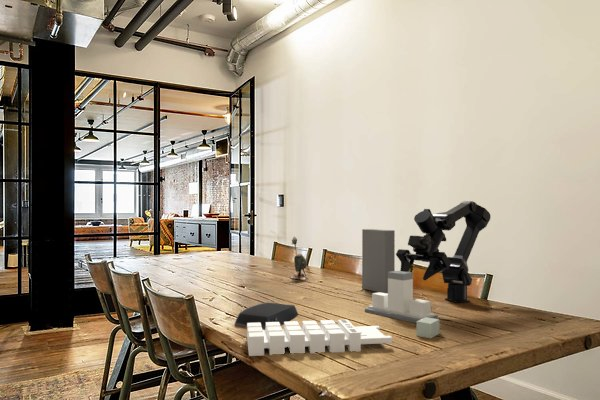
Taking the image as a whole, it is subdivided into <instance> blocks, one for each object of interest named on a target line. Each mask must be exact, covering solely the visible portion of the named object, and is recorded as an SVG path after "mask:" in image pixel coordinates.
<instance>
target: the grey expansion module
mask: <svg viewBox="0 0 600 400" xmlns="http://www.w3.org/2000/svg"><path fill="white" fill-rule="evenodd" d="M413 281H414V272H413V271H412V272H410V271H408V272H404V271H400V270H395V271H392V272H388V293H387V294H388V310H393V311H398V312H403V313H404V312H408V311H410V300H414V297H413V296H414V287H413V286H414V285H413V284H414V282H413Z"/></svg>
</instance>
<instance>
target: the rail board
mask: <svg viewBox="0 0 600 400" xmlns="http://www.w3.org/2000/svg"><path fill="white" fill-rule="evenodd" d="M364 312H365V313H370V314H373V315H374V314H375V315H378V316H383V317H388V318H392V319H397V320H400V321H405V322H410V323H415V324H417V321H418V320H421V319H423V318H425V317H427V318H434V319H439V318H438V317H439V315H438V314H436V313H432V301H431V300H426V299H419V298H415V299H414V298H413V300H410V311H408V312H404V313H403V312H398V311H393V310H388V293H381V292H373V293H371V305H367V307H366V308H364Z"/></svg>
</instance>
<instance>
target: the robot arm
mask: <svg viewBox="0 0 600 400" xmlns="http://www.w3.org/2000/svg"><path fill="white" fill-rule="evenodd" d="M462 218H464V221H465V224H466V227H465V229H464V232H463V233H462V236H461V238H460V241H459V243H458V246H457V248H456V250H455V252H454V255H453V256H448V255H447V254H446V251H440V250H439V247H440V245H441V243H442V242H447V237H446V234H445V233H444V231H451V230H452V229H453V228H454V227H456V222H457V221H460V220H461V219H462ZM413 219H414V222H415V223H416V225H417V227H418V228H419V230H420V232H422V233H421V234H424V235H422V236H421V235H409V237H408V242H407V246H410V247H412V251H413V252H415V253H412V252H411V251H410V250H409V249H401V248H400V249H399V248H398V250H397V251H396V253H395V255H396V256H395V257H397V259H398V260H399V261H400V270H399V271H404V272H410V270H411V269H412V267H413V266H412V265H413V264H414V263H415V261H418V262H419V261H420V262H424V263H428V266H427V268H426V270H425V272H424V274H423V277H422V279H423V281H427V280H428V279H429V278H432V277H433V276H435V275H436V274H438V273H440V272H441V274H442V279H443V280H442V281H443V283H444V284H447V289H446V290H447V291H446V292H447V294H446V295H447V296H446V297H445V298H444V300H446V301H449V302H453V303H458V304H459V303H466V302H471V299H468V286H469V287H470V286H472V281H473V278H472V277H471V275H470V273H469V266H468V260H469V258H470V256H471V252H472V251H473V248H474V245H475V243H476V240H477V238H478V236H479V233H480V232H481V231H482V230H484V229H486V227H487V226H488V224H489V222H490V221H491V213H490V212H489V211H488V210H487V208H485V207H483V206H481V205H479V204H477V202H475V201H474V200H472V201H470V200H469V201H468V200H467V201H466V200H463V201H461V202H460V203H459V204H458V205H456V206H453V207H452V208H451V209H449V210H447V211H444V212H442V211H441V212H437V213H432V211H431V209H430V208H424V209H423V210H422V211H419V212H418V213H417V214H415V216H414V218H413Z"/></svg>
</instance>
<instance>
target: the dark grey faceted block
mask: <svg viewBox="0 0 600 400" xmlns="http://www.w3.org/2000/svg"><path fill="white" fill-rule="evenodd" d="M298 316H299V313H298V311H297V307H296V306H295V305H294V304H285V303H274V302H263V303H258V304H255V305H252V306H250V307H247V308H245V309H243V310H242V311H241V312H239V313H238V315H237V317H236V319H235V321H234V326H238V327H246V328H247V323H258V322H261V327H262V330H266V322H279V323H280V326H282V325H284V322H288V321H292V320H293V319H295V318H297V317H298ZM291 319H292V320H291ZM281 324H282V325H281Z"/></svg>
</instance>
